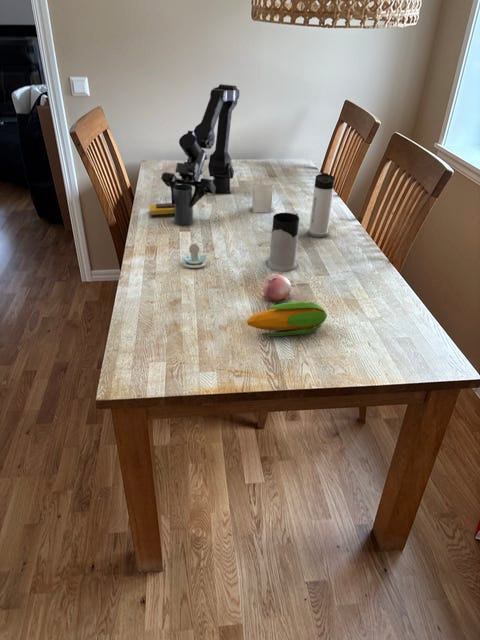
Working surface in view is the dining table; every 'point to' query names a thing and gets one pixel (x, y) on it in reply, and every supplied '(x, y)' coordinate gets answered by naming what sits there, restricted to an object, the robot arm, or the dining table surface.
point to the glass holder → (284, 241)
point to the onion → (276, 288)
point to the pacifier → (194, 257)
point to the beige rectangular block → (262, 198)
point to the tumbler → (183, 204)
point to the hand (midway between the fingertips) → (181, 205)
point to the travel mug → (321, 205)
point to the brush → (162, 210)
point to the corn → (289, 318)
